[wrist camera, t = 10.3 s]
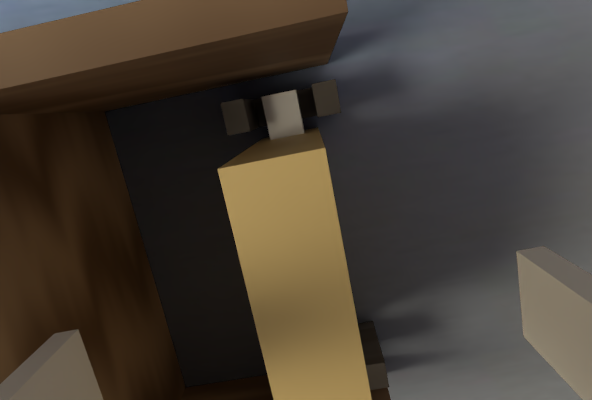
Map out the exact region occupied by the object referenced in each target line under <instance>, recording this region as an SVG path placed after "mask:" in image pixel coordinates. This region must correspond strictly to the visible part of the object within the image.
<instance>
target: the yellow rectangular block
mask: <svg viewBox="0 0 592 400" xmlns="http://www.w3.org/2000/svg"><path fill="white" fill-rule="evenodd" d="M261 98H262V103H263V107H264V112H265V117H266V121H267V126H268V131H269V135H270V137H268V138H263V139H261V140H260V141H258V142H257V143H255V144H254V145H252V146H251V147H249V148H248V149H246V150H245V151H243V152H242V153H240V154H239V155H238V156H236V157H235V158H233V159H232V160H230V161H229V162H227V163H226V164H224V165H223V166H221V167H220V168H218V169H217V170H218V174H219V178H220V182H221V186H222V190H223V194H224V198H225V202H226V207H227V211H228V215H229V219H230V223H231V227H232V231H233V235H234V239H235V243H236V248H237V252H238V256H239V260H240V264H241V268H242V272H243V276H244V280H245V284H246V289H247V293H248V297H249V301H250V305H251V309H252V313H253V317H254V321H255V325H256V330H257V334H258V338H259V342H260V346H261V350H262V354H263V358H264V362H265V366H266V371H267V375H268V379H269V383H270V387H271V391H272V395H273V399H274V400H372V398H371V392H370V387H369V382H368V376H367V371H366V365H365V360H364V355H363V349H362V344H361V338H360V333H359V328H358V322H357V317H356V311H355V306H354V301H353V295H352V290H351V285H350V279H349V274H348V268H347V263H346V258H345V252H344V247H343V241H342V236H341V231H340V225H339V220H338V214H337V209H336V204H335V198H334V193H333V188H332V182H331V177H330V171H329V166H328V161H327V155H326V150H325V146H324V143H323V140H322V137H321V135H320V132H319V129H318V127H317V128H312V129H307V130H304V125H303V120H302V115H301V110H300V105H299V100H298V94H297V91H296V90H291V91H287V92H282V93H277V94H272V95H268V96H263V97H261Z"/></svg>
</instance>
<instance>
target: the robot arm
mask: <svg viewBox="0 0 592 400" xmlns="http://www.w3.org/2000/svg"><path fill="white" fill-rule="evenodd" d="M516 253H517V265H518V277H519V289H520V301H521V313H522V324H523V336H524V337H525V339H526V340H527V341H528V342H529V343H530V344H531V345H532V346H533V347H534V348H535V349H536V350H537V351H538V352H539V353H540V355H541V356H542V357H543V358H544V359H545V360H546V361H547V362H548V363H549V364H550V365H551V366H552V367H553V368H554V370H555V371H556V372H557V373H558V374H559V375H560V376H561V377H562V378H563V379H564V380H565V381H566V382H567V383H568V384H569V386H570V387H571V388H572V389H573V390H574V391H575V392H576V393H577V394H578V395H579V396H580V397H581V398H582V399H583V400H592V275H591V274H589V273H588V272H586V271H584V270H583V269H581V268H579V267H578V266H576V265H574V264H573V263H571V262H569V261H568V260H566V259H564V258H563V257H561V256H559V255H558V254H556V253H554V252H553V251H551V250H550V249H548V248H546V247H545V246H541V247H535V248H530V249H524V250H519V251H516ZM0 400H103V397H102V394H101V391H100V389H99V386H98V383H97V380H96V377H95V375H94V372H93V369H92V366H91V363H90V361H89V358H88V355H87V352H86V350H85V347H84V344H83V341H82V338H81V336H80V333H79V330H78V329H77V330H71V331H65V332H60V333H54V334H53V335H52V336H51V337H50V338H49V339H48V340H47V341H46V342H45V343H44V344H43V345H42V346H40V347H39V348H38V349H37V350H36V351H35V352H34V353H33V354H32V355H31V356H30V357H29V358H28V359H27V360H26V361H24V362H23V363H22V364H21V365H20V366H19V367H18V368H17V369H16V370H15V371H14V372H13V373H12V374H11V375H9V376H8V377H7V378H6V379H5V380H4V381H3V382H2V383H1V384H0Z"/></svg>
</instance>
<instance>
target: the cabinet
mask: <svg viewBox="0 0 592 400" xmlns="http://www.w3.org/2000/svg"><path fill="white" fill-rule="evenodd" d="M347 13H348V8H347V2H346V0H141V1H136V2H132V3H128V4H124V5H119V6H115V7H111V8H106V9H102V10H98V11H94V12H89V13H85V14H81V15H76V16H72V17H68V18H64V19H59V20H55V21H51V22H47V23H42V24H38V25H34V26H29V27H25V28H21V29H17V30H12V31H8V32H4V33H0V384H1V383H2V382H3V381H4V380H5V379H6V378H7V377H8V376H9V375H11V374H12V373H13V372H14V371H15V370H16V369H17V368H18V367H19V366H20V365H21V364H22V363H23V362H24V361H26V360H27V359H28V358H29V357H30V356H31V355H32V354H33V353H34V352H35V351H36V350H37V349H38V348H39V347H40V346H42V345H43V344H44V343H45V342H46V341H47V340H48V339H49V338H50V337H51V336H52V335H53V334H54V333H60V332H65V331H71V330H77V329H78V330H79V333H80V336H81V338H82V341H83V344H84V347H85V350H86V352H87V355H88V358H89V361H90V363H91V366H92V369H93V372H94V375H95V377H96V380H97V383H98V386H99V389H100V391H101V394H102V397H103V400H274V399H273V395H272V391H271V387H270V383H269V379H268V375H262V376H256V377H250V378H243V379H237V380H231V381H224V382H218V383H211V384H205V385H199V386H192V387H186V386H185V383H184V380H183V376H182V373H181V369H180V366H179V363H178V359H177V356H176V352H175V349H174V346H173V342H172V339H171V335H170V332H169V329H168V325H167V322H166V319H165V315H164V312H163V308H162V305H161V302H160V298H159V295H158V291H157V288H156V285H155V281H154V278H153V274H152V271H151V268H150V264H149V261H148V257H147V254H146V251H145V247H144V244H143V240H142V237H141V234H140V230H139V227H138V224H137V220H136V217H135V213H134V210H133V207H132V203H131V200H130V196H129V193H128V190H127V186H126V183H125V179H124V176H123V173H122V169H121V166H120V162H119V159H118V156H117V152H116V149H115V145H114V142H113V139H112V135H111V132H110V128H109V125H108V122H107V118H106V115H105V111H110V110H115V109H119V108H124V107H129V106H133V105H138V104H143V103H147V102H152V101H157V100H161V99H166V98H171V97H175V96H180V95H185V94H189V93H194V92H199V91H203V90H208V89H213V88H217V87H222V86H227V85H232V84H236V83H241V82H246V81H250V80H255V79H260V78H264V77H269V76H274V75H278V74H283V73H288V72H292V71H297V70H302V69H306V68H311V67H316V66H320V65H325V64H327V63H328V61H329V58H330V56H331V53H332V51H333V48H334V46H335V43H336V41H337V38H338V36H339V33H340V31H341V28H342V26H343V23H344V21H345V18H346V16H347ZM297 94H298V100H299V105H300V110H301V115H302V118H307V117H312V116H318V117H322V116H327V115H332V114H337V113H341V109H340V103H339V97H338V91H337V86H336V80H335V79H334V80H329V81H324V82H319V83H315V84H312V87H311V88H307V89H302V90H297ZM220 104H221V109H222V113H223V117H224V121H225V126H226V130H227V134H228V136H229V135H234V134H239V133H243V132H248V131H252V130H254V129H256V128H259V127H263V126H267V121H266V117H265V112H264V107H263V103H262V98H259V99H254V100H251V99H239V100H234V101H229V102H224V103H220ZM358 328H359V333H360V338H361V344H362V349H363V355H364V360H365V365H366V371H367V376H368V382H369V387H370V392H371V398H372V400H391V399H390V395H389V391H388V388H387V387H389V384H388V378H387V373H386V367H385V362H384V358H383V355H382V351H381V348H380V344H379V341H378V337H377V334H376V331H375V327H374V324H373V321H370V322H364V323H358Z"/></svg>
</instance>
